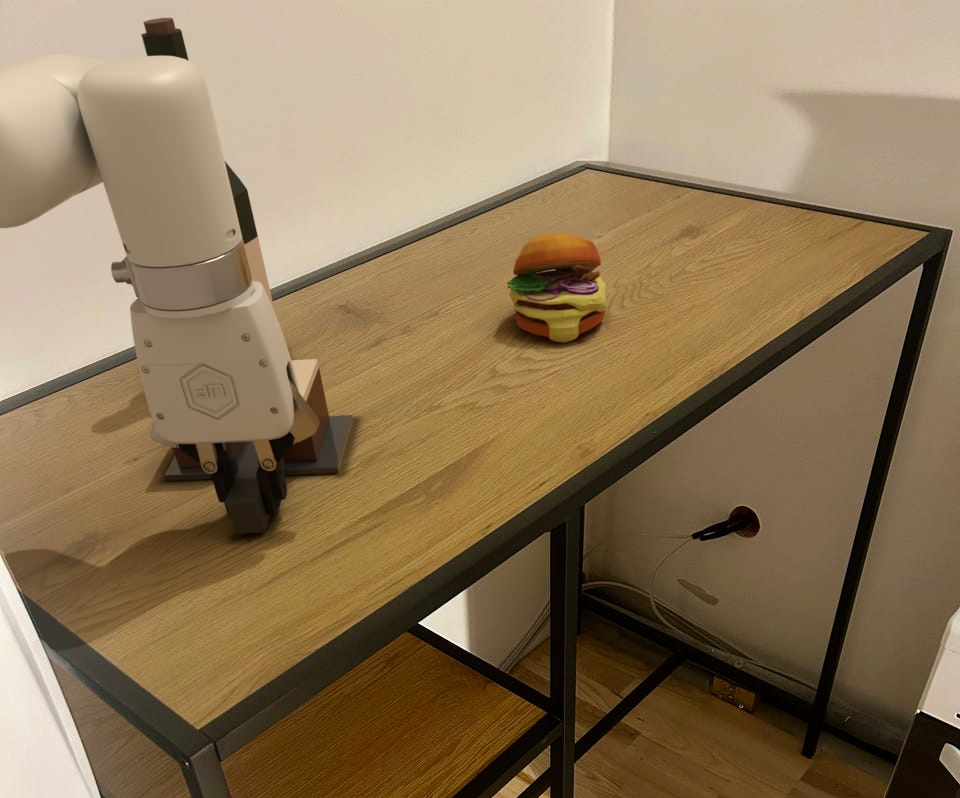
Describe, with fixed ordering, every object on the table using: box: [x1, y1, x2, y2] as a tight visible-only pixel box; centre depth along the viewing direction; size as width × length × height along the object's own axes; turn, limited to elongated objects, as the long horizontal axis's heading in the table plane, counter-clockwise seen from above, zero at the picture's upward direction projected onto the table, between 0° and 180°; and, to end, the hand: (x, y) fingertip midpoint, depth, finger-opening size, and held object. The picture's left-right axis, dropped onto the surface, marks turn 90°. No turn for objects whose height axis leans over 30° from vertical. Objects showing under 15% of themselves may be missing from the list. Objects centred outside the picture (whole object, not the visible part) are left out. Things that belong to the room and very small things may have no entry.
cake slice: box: [283, 358, 330, 463], centre depth 82 cm, size 4×7×6 cm, turn 178°
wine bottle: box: [141, 17, 276, 313], centre depth 88 cm, size 8×8×30 cm
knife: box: [224, 441, 286, 535], centre depth 79 cm, size 18×2×3 cm, turn 178°
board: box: [164, 414, 355, 482], centre depth 84 cm, size 15×9×1 cm, turn 88°
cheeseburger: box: [506, 232, 607, 344], centre depth 97 cm, size 10×11×10 cm
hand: (256, 505), depth 75 cm, fingers closed on knife, 2 cm apart
